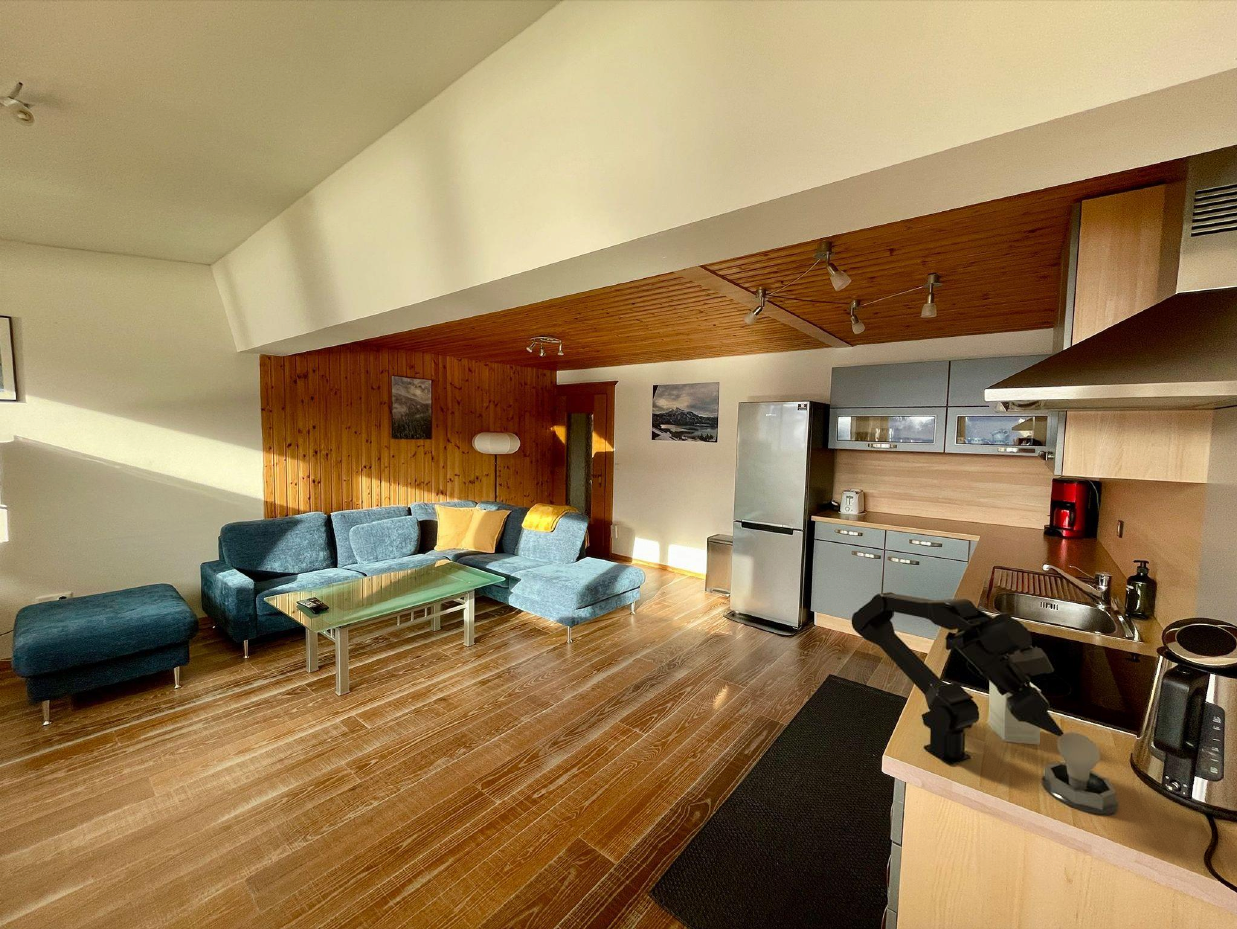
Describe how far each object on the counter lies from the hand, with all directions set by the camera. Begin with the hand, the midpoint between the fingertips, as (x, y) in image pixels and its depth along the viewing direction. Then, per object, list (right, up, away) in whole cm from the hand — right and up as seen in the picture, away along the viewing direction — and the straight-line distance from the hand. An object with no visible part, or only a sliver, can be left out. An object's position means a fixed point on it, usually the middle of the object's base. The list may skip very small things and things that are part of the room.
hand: (1053, 722), depth 101 cm
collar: (+4, -13, -1) cm, 14 cm away
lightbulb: (+4, -13, -1) cm, 13 cm away
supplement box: (+6, -12, +19) cm, 23 cm away
